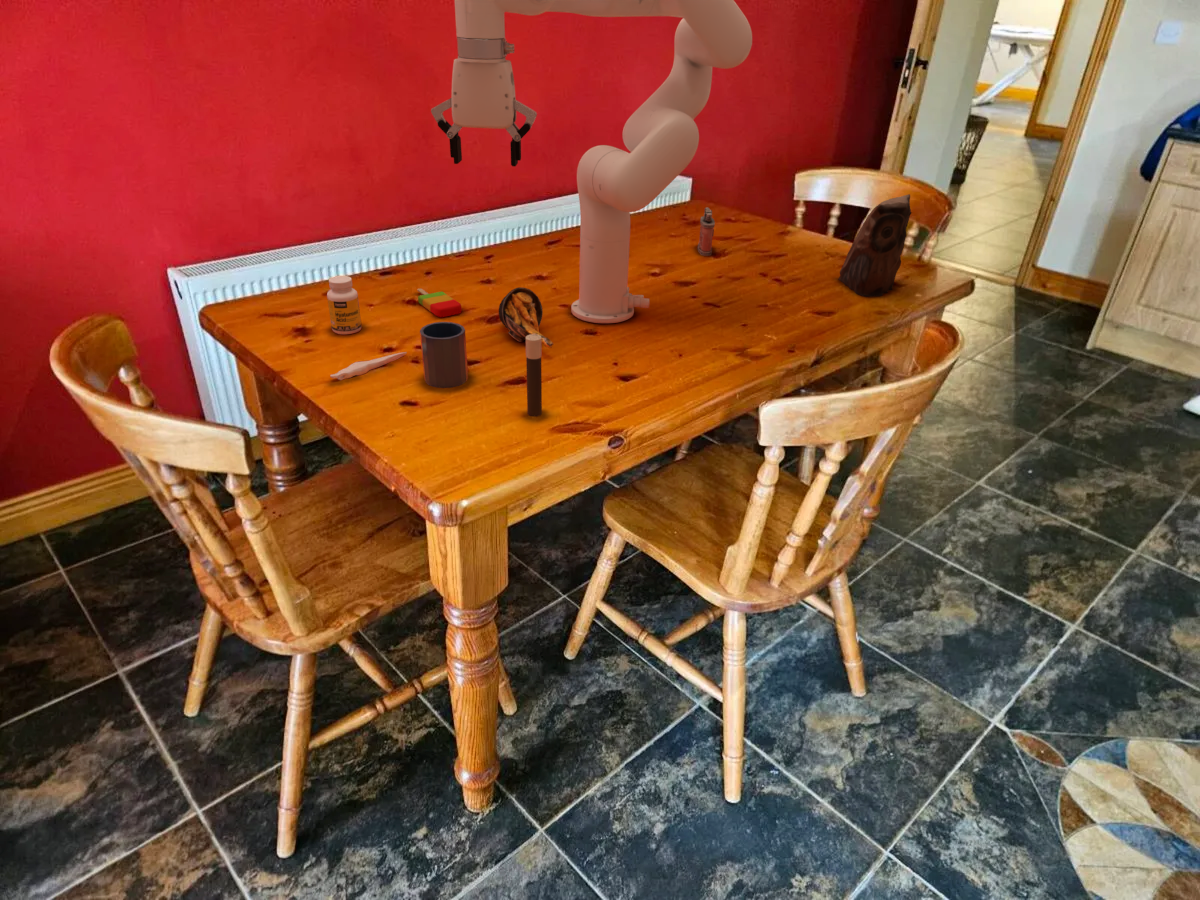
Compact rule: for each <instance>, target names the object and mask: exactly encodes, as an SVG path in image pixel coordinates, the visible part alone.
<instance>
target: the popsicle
mask: <svg viewBox="0 0 1200 900" xmlns="http://www.w3.org/2000/svg"><path fill="white" fill-rule="evenodd" d="M416 291H417V292H419V294H421V295H418V296H417V302H418V304H419V305H420V306H422V307H423V308H425V309H426V310H428V311H429V312H430V313H431V314H433V315H434V316H435V317H438V318H447V317H451V316H456V315H460V314H461V313H462V309H463V307H462V304H461V303H460V302H459V301H457V300H456V299H454V298H453V297H451V296H450V295H449V294H447V293H445V292H444V291H443V290H442V291H437V292H431V293H428V292H427V291H426V290H425V289H423V288H417V289H416Z"/></svg>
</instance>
